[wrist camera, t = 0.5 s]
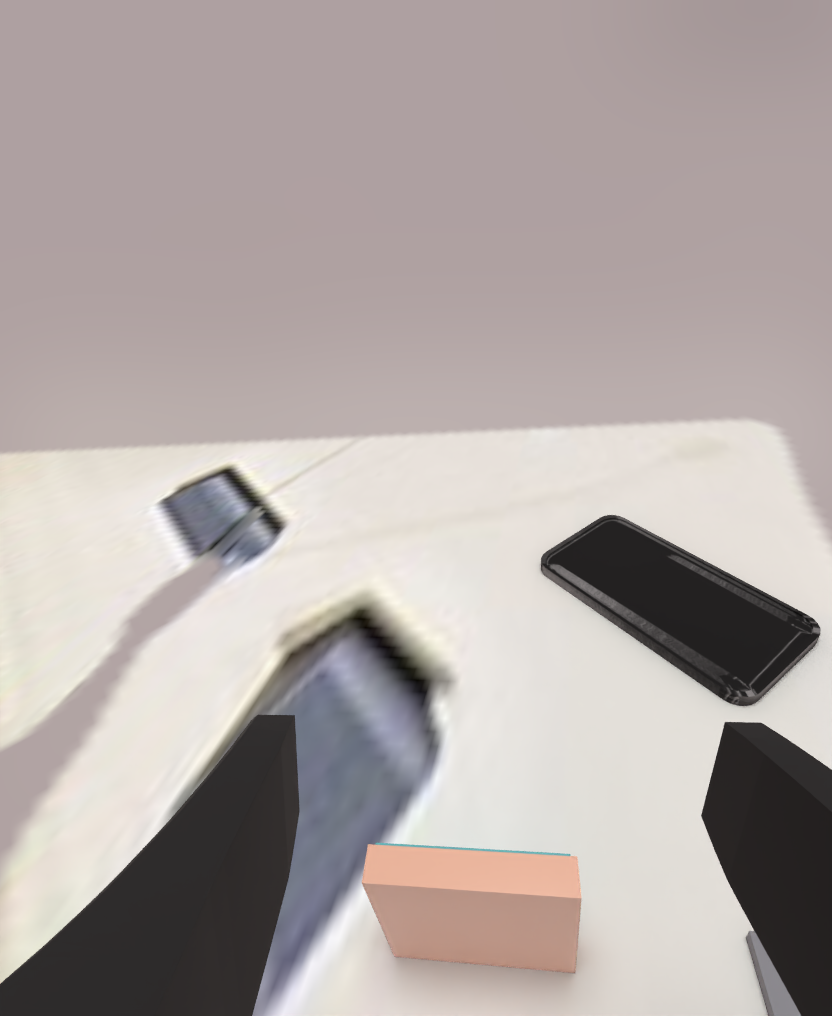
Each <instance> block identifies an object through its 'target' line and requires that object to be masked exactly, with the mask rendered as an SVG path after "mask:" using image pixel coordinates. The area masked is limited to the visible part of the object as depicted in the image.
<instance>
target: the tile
mask: <svg viewBox="0 0 832 1016" xmlns="http://www.w3.org/2000/svg"><path fill="white" fill-rule="evenodd" d="M362 884H363V887H364V889H365V891H366V893H367V896H368V898H369V900H370V902H371V905H372V907H373V909H374V911H375V914H376V916H377V918H378V920H379V923H380V925H381V927H382V929H383V932H384V934H385V936H386V938H387V941H388V943H389V945H390V947H391V950H392V952H393V954H394V956H395V957H404V958H415V959H426V960H437V961H448V962H459V963H470V964H481V965H491V966H502V967H513V968H524V969H535V970H546V971H557V972H568V973H575V969H576V957H577V945H578V933H579V921H580V909H581V889H580V880H579V870H578V860H577V857H575V856H570V854H560V853H543V852H526V851H509V850H491V849H474V848H457V847H440V846H423V845H405V844H388V843H375V845H371V844H368V849H367V855H366V861H365V867H364V873H363V879H362Z"/></svg>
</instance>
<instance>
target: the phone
mask: <svg viewBox="0 0 832 1016" xmlns="http://www.w3.org/2000/svg"><path fill="white" fill-rule="evenodd" d="M541 571H542V573H543V574H544V575H545V576H546V577H548V578H549V579H550V580H552V581H553V582H555V583H556V584H558V585H559V586H560V587H562V588H563V589H565V590H566V591H568V592H569V593H571V594H572V595H573V596H575V597H576V598H578V599H579V600H581V601H582V602H583V603H585V604H586V605H588V606H589V607H591V608H592V609H594V610H595V611H596V612H598V613H599V614H601V615H602V616H604V617H605V618H607V619H608V620H609V621H611V622H612V623H614V624H615V625H617V626H618V627H619V628H621V629H622V630H624V631H625V632H627V633H628V634H630V635H631V636H632V637H634V638H635V639H637V640H638V641H640V642H641V643H643V644H644V645H645V646H647V647H648V648H650V649H651V650H653V651H654V652H655V653H657V654H658V655H660V656H661V657H663V658H664V659H666V660H667V661H668V662H670V663H671V664H673V665H674V666H676V667H677V668H679V669H680V670H681V671H683V672H684V673H686V674H687V675H689V676H690V677H691V678H693V679H694V680H696V681H697V682H699V683H700V684H702V685H703V686H704V687H706V688H707V689H709V690H710V691H712V692H713V693H714V694H716V695H717V696H719V697H720V698H722V699H723V700H725V701H727V702H729V703H731V704H735V705H739V706H748V705H752V704H754V703H756V702H757V701H758V700H759V699H760V698H761V697H762V696H763V695H765V694H766V693H767V692H768V691H769V690H770V689H771V688H772V687H773V686H774V685H775V684H776V683H777V682H778V681H779V680H780V679H781V678H782V677H783V676H784V675H785V674H786V673H787V672H788V671H789V670H790V669H791V668H792V667H793V666H794V665H795V664H797V663H798V662H799V661H800V660H801V659H802V658H803V657H804V656H805V655H806V654H807V653H808V652H809V651H810V650H811V649H812V648H813V647H814V646H815V644H816V643H817V640H818V638H819V635H820V627H819V625H818V623H817V622H816V621H815V620H814V619H813V618H811V617H810V616H808V615H807V614H805V613H803V612H801V611H799V610H797V609H795V608H793V607H791V606H789V605H788V604H786V603H784V602H782V601H780V600H778V599H776V598H774V597H772V596H771V595H769V594H767V593H765V592H763V591H761V590H759V589H757V588H755V587H753V586H752V585H750V584H748V583H746V582H744V581H742V580H740V579H738V578H736V577H735V576H733V575H731V574H729V573H727V572H725V571H723V570H721V569H719V568H717V567H716V566H714V565H712V564H710V563H708V562H706V561H704V560H702V559H700V558H699V557H697V556H695V555H693V554H691V553H689V552H687V551H685V550H683V549H682V548H680V547H678V546H676V545H674V544H672V543H670V542H668V541H666V540H665V539H663V538H661V537H659V536H657V535H655V534H653V533H651V532H649V531H647V530H646V529H644V528H642V527H640V526H638V525H636V524H634V523H632V522H630V521H629V520H627V519H625V518H623V517H620V516H616V515H607V516H603V517H601V518H599V519H598V520H596V521H594V522H593V523H591V524H590V525H588V526H587V527H585V528H583V529H582V530H580V531H579V532H577V533H575V534H574V535H572V536H571V537H569V538H568V539H566V540H564V541H563V542H561V543H560V544H558V545H556V546H555V547H553V548H552V549H550V550H548V551H547V552H546V553H544V554H543V556H542V558H541Z"/></svg>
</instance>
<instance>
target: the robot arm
mask: <svg viewBox="0 0 832 1016" xmlns="http://www.w3.org/2000/svg"><path fill="white" fill-rule="evenodd" d="M701 816H702V819H703V821H704V824H705V827H706V829H707V832H708V834H709V837H710V839H711V842H712V844H713V847H714V850H715V852H716V854H717V857H718V859H719V861H720V864H721V866H722V868H723V871H724V873H725V876H726V878H727V880H728V882H729V884H730V886H731V888H732V890H733V892H734V894H735V896H736V897H737V899H738V901H739V903H740V905H741V907H742V909H743V910H744V912H745V914H746V916H747V918H748V920H749V922H750V923H751V925H752V927H753V929H754V931H755V933H756V934H757V936H758V938H759V940H760V942H761V944H762V945H763V947H764V949H765V951H766V953H767V954H768V956H769V958H770V960H771V962H772V964H773V965H774V967H775V969H776V971H777V973H778V974H779V976H780V978H781V980H782V982H783V984H784V985H785V987H786V989H787V991H788V993H789V994H790V996H791V998H792V1000H793V1002H794V1003H795V1005H796V1007H797V1009H798V1011H799V1013H800V1014H801V1016H832V770H831V769H830V768H828V767H827V766H825V765H824V764H823V763H821V762H820V761H818V760H817V759H815V758H814V757H812V756H811V755H810V754H808V753H807V752H805V751H804V750H802V749H801V748H799V747H798V746H796V745H795V744H793V743H792V742H790V741H789V740H787V739H786V738H784V737H783V736H781V735H780V734H778V733H777V732H775V731H774V730H772V729H770V728H769V727H767V726H766V725H764V724H762V723H745V722H725V724H724V728H723V732H722V736H721V740H720V744H719V748H718V752H717V756H716V760H715V764H714V768H713V772H712V776H711V780H710V784H709V788H708V791H707V795H706V799H705V803H704V807H703V811H702V815H701ZM298 817H299V793H298V773H297V752H296V732H295V715H257V716H256V717H255V718H254V719H253V720H251V722H250V723H249V724H248V726H247V727H246V728H245V730H244V731H243V732H242V733H241V735H240V736H239V737H238V739H237V740H236V741H235V743H234V744H233V745H232V746H231V748H230V749H229V750H228V751H227V753H226V754H225V755H224V756H223V758H222V759H221V760H220V761H219V763H218V764H217V765H216V766H215V768H214V769H213V770H212V771H211V772H210V774H209V775H208V776H207V777H206V779H205V780H204V781H203V782H202V783H201V784H200V786H199V787H198V788H197V789H196V790H195V791H194V793H193V794H192V795H191V796H190V797H189V798H188V800H187V801H186V802H185V803H184V804H183V805H182V807H181V808H180V809H179V810H178V811H177V812H176V814H175V815H174V816H173V817H172V818H171V819H170V820H169V821H168V823H167V824H166V825H165V826H164V827H163V828H162V829H161V830H160V831H159V832H158V833H157V834H156V836H155V837H154V838H153V839H152V840H151V841H150V842H149V843H148V844H147V845H146V846H145V847H144V848H143V849H142V850H141V851H140V852H139V854H138V855H137V856H136V857H135V858H134V859H133V860H132V861H131V862H130V863H129V864H128V865H127V866H126V867H125V868H124V869H123V870H122V872H121V873H120V874H119V875H118V876H117V877H116V878H115V879H114V880H113V881H112V882H111V883H110V884H109V885H108V886H107V887H106V888H105V889H104V890H103V891H102V892H101V893H100V894H99V895H98V896H97V897H96V898H94V899H93V900H92V901H91V902H90V903H89V904H88V905H87V906H86V907H85V908H84V909H83V910H82V911H81V912H80V913H79V914H78V915H77V916H76V917H75V918H73V919H72V920H71V921H70V922H69V923H68V924H67V925H66V926H65V927H64V928H63V929H62V930H61V931H59V932H58V933H57V934H56V935H55V936H54V937H53V938H52V939H51V940H50V941H49V942H48V943H46V944H45V945H44V946H43V947H42V948H41V949H40V950H39V951H37V952H36V953H35V954H34V955H33V956H32V957H31V958H29V959H28V960H27V961H26V962H25V963H24V964H23V965H21V966H20V967H19V968H18V969H17V970H16V971H14V972H13V973H12V974H11V975H10V976H9V977H8V978H6V979H5V980H4V981H3V982H2V983H1V984H0V1016H252V1014H253V1010H254V1006H255V1003H256V999H257V995H258V991H259V988H260V984H261V980H262V977H263V973H264V969H265V965H266V962H267V958H268V954H269V950H270V947H271V943H272V939H273V935H274V932H275V928H276V924H277V920H278V916H279V913H280V909H281V905H282V901H283V897H284V893H285V890H286V886H287V882H288V878H289V873H290V867H291V861H292V855H293V849H294V842H295V836H296V830H297V823H298Z"/></svg>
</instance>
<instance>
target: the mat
mask: <svg viewBox="0 0 832 1016" xmlns="http://www.w3.org/2000/svg"><path fill="white" fill-rule="evenodd" d="M746 938H747V941H748V945H749V948H750V952H751V955H752V959H753V962H754V966H755V969H756V973H757V976H758V980H759V983H760V987H761V990H762V994H763V997H764V1000H765V1004H766V1007H767V1011H768V1014H769V1016H801V1014H800V1013H799V1011H798V1009H797V1007H796V1005H795V1003H794V1002H793V1000H792V998H791V996H790V994H789V993H788V991H787V989H786V987H785V985H784V984H783V982H782V980H781V978H780V976H779V974H778V973H777V971H776V969H775V967H774V965H773V964H772V962H771V960H770V958H769V956H768V954H767V953H766V951H765V949H764V947H763V945H762V944H761V942H760V940H759V938H758V936H757V934H756V933H755V932H754V931H749V933H748V935H747V937H746Z"/></svg>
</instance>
